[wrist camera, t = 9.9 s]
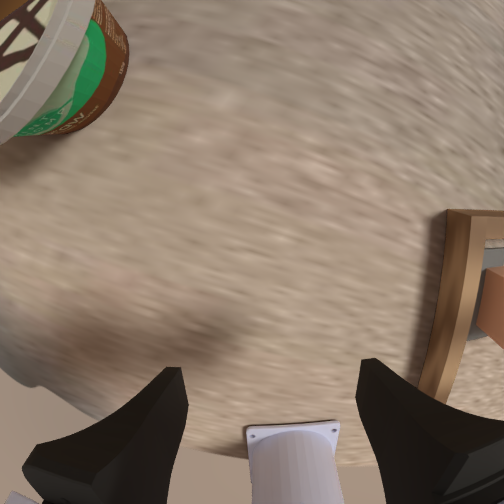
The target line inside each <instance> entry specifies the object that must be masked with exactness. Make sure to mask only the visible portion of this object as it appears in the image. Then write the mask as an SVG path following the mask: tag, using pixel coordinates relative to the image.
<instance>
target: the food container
mask: <svg viewBox="0 0 504 504" xmlns="http://www.w3.org/2000/svg"><path fill="white" fill-rule="evenodd" d="M128 63H129V44H128V40H127V36H126V34H125V33H124V31H123V30H122V28H121V27H120V26H119V24H118V23H117V21H116V20H115V19H114V17H113V16H112V14H111V13H110V12H109V10H108V9H107V7H106V6H105V5H104V3H103V2H102V0H28V1H27V2H26V3H25V4H23V5H22V6H21V7H19V8H18V9H16V10H15V11H14V12H12V13H11V14H9V15H8V16H7V17H5V18H4V19H3V20H1V21H0V145H1V144H3V143H5V142H6V141H8V140H9V139H10V138H11V137H16V136H29V135H47V134H67V133H71V132H74V131H77V130H80V129H82V128H84V127H86V126H88V125H89V124H91V123H92V122H93V121H95V120H96V119H97V118H98V117H99V116H100V115H101V114H102V113H104V111H105V110H106V109H107V108H108V107H109V105H110V104H111V103H112V101H113V100H114V98H115V97H116V95H117V94H118V92H119V90H120V88H121V86H122V84H123V81H124V78H125V75H126V72H127V67H128Z"/></svg>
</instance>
